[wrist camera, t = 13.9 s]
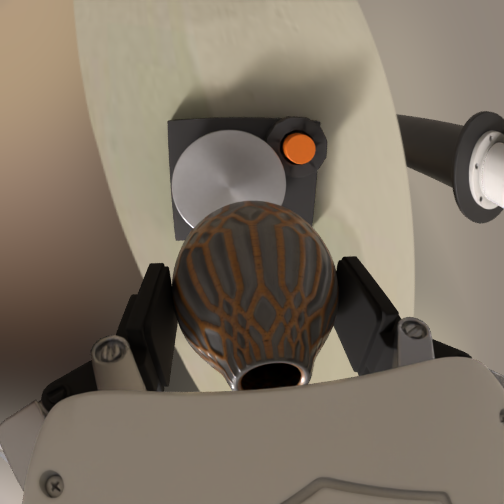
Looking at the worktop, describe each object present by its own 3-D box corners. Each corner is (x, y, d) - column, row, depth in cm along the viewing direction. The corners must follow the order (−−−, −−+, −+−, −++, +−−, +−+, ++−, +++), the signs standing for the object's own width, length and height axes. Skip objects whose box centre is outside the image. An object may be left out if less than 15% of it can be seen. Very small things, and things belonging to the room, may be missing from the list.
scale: (318, 118, 25) (329, 119, 23) (309, 231, 31) (317, 244, 28) (170, 117, 24) (163, 118, 21) (177, 235, 30) (173, 248, 27)
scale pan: (287, 130, 23) (288, 130, 22) (281, 235, 28) (283, 238, 27) (169, 132, 22) (168, 132, 22) (177, 238, 27) (176, 241, 26)
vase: (309, 178, 14) (405, 268, 6) (309, 290, 17) (360, 413, 9) (171, 194, 14) (113, 305, 6) (196, 305, 17) (186, 438, 9)
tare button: (311, 133, 24) (316, 135, 22) (309, 161, 25) (314, 164, 23) (283, 132, 23) (286, 133, 22) (281, 160, 25) (285, 163, 23)
